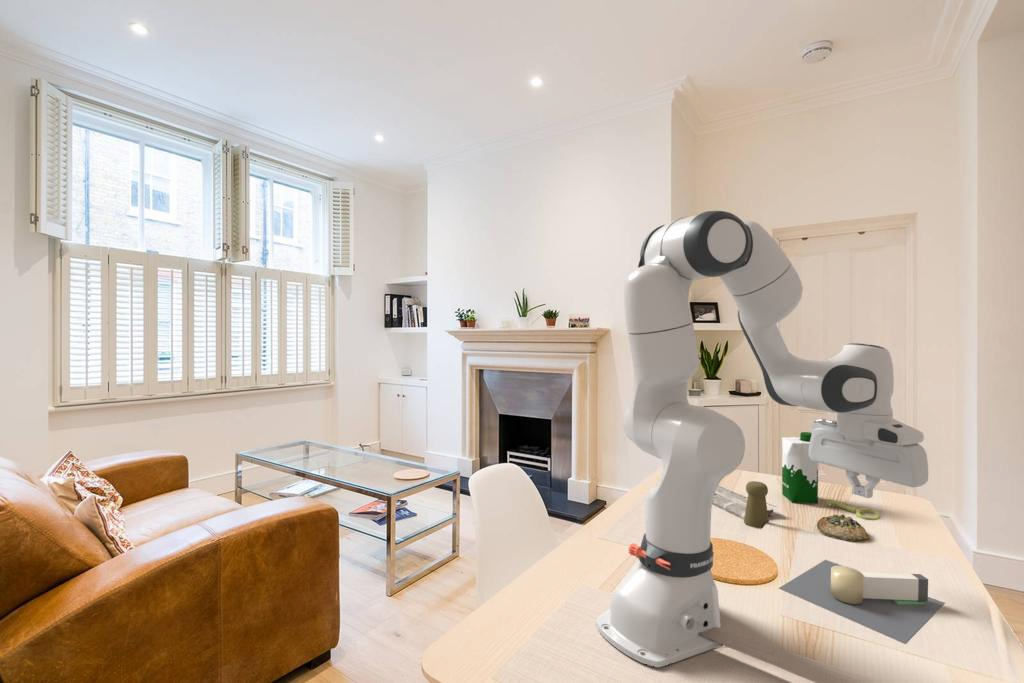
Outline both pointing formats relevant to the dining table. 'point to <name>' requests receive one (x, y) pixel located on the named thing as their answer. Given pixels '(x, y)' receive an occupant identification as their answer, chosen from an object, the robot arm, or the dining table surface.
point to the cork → (756, 505)
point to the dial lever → (876, 585)
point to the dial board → (864, 605)
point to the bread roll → (842, 528)
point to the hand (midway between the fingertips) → (862, 495)
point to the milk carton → (799, 470)
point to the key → (856, 510)
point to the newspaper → (734, 502)
